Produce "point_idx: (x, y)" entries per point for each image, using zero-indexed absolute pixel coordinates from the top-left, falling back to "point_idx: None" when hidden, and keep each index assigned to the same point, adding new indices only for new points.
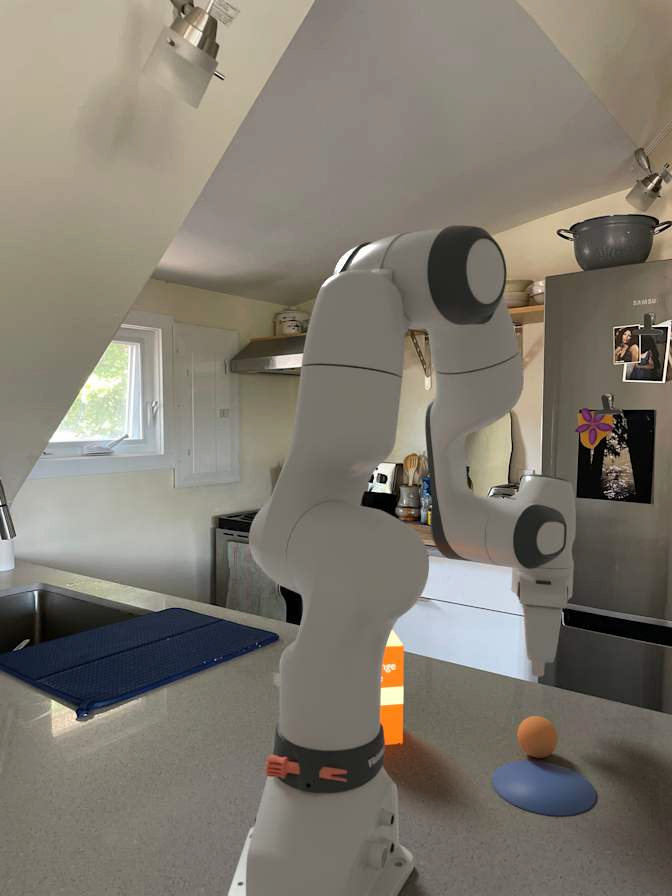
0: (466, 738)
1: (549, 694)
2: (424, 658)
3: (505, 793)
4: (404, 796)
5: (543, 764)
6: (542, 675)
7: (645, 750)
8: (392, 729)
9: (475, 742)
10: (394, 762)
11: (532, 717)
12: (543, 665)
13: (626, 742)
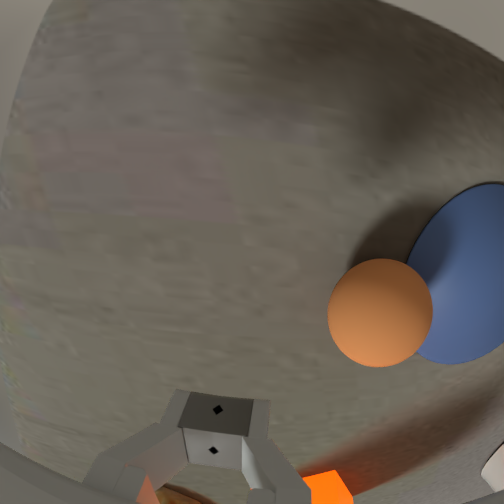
0: (303, 410)
1: (18, 232)
2: (14, 417)
3: (496, 340)
4: (470, 436)
5: None
6: (270, 402)
7: (272, 9)
8: (341, 494)
9: (319, 397)
10: (392, 464)
11: (390, 355)
12: (268, 439)
13: (234, 46)
